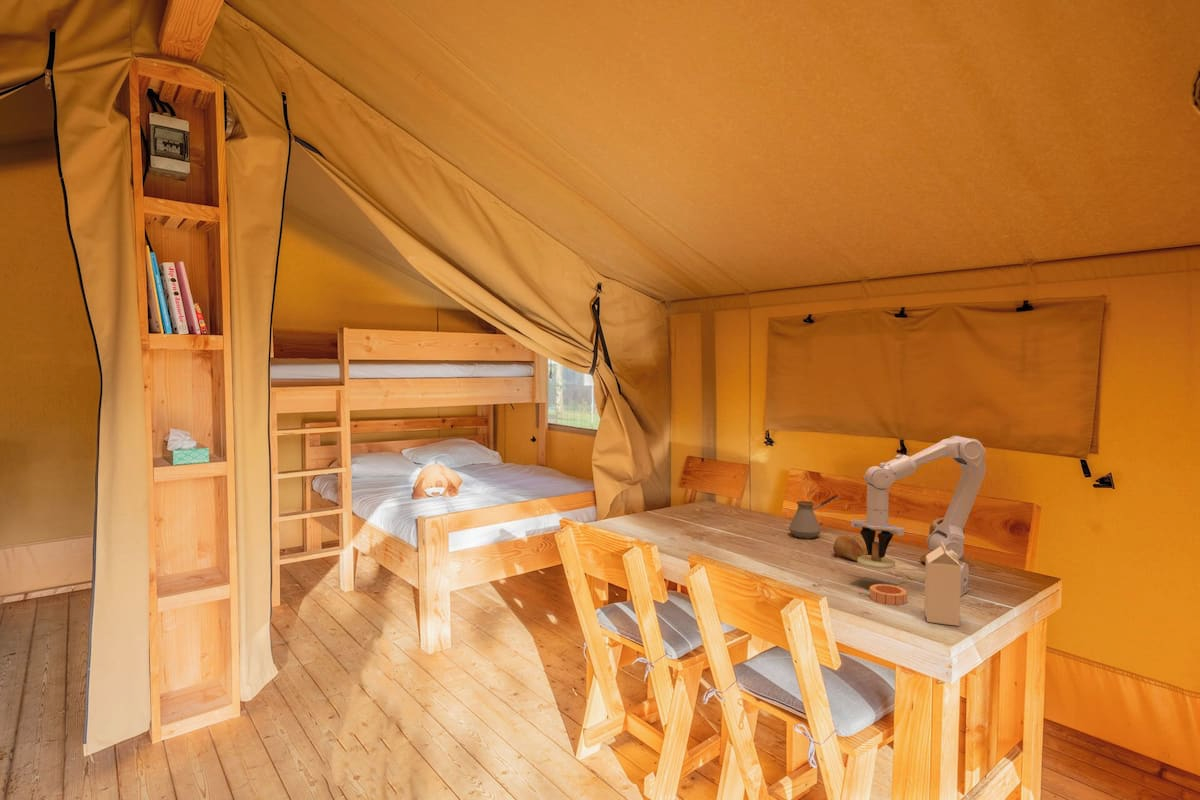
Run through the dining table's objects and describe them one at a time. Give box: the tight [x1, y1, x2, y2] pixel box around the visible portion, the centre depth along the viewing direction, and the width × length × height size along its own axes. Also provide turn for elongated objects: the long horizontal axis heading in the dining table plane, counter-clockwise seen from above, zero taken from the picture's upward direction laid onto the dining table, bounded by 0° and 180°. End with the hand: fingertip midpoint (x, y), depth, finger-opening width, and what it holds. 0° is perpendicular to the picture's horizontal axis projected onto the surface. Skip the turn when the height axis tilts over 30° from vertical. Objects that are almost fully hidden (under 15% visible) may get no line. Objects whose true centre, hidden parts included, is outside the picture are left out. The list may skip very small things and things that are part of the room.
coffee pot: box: [788, 494, 841, 540], centre depth 249 cm, size 21×12×15 cm, turn 110°
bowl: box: [869, 584, 908, 606], centre depth 179 cm, size 9×9×3 cm
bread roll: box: [832, 534, 868, 562], centre depth 218 cm, size 10×15×8 cm, turn 23°
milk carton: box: [923, 542, 961, 627], centre depth 165 cm, size 7×7×19 cm
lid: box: [856, 541, 896, 570], centre depth 188 cm, size 10×10×6 cm
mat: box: [849, 576, 899, 590], centre depth 191 cm, size 10×10×1 cm
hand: (876, 555), depth 189 cm, fingers closed on lid, 3 cm apart
